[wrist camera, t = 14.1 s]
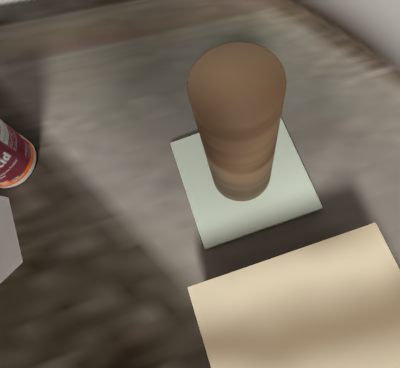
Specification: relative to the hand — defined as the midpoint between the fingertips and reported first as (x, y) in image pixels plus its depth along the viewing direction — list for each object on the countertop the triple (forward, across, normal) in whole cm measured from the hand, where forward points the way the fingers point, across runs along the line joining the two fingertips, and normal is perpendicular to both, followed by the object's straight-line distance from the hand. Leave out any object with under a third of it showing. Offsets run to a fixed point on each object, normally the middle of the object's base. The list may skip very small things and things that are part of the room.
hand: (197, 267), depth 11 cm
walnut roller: (+16, 0, -4) cm, 17 cm away
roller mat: (+17, 0, -5) cm, 17 cm away
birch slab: (+10, +5, -11) cm, 16 cm away
